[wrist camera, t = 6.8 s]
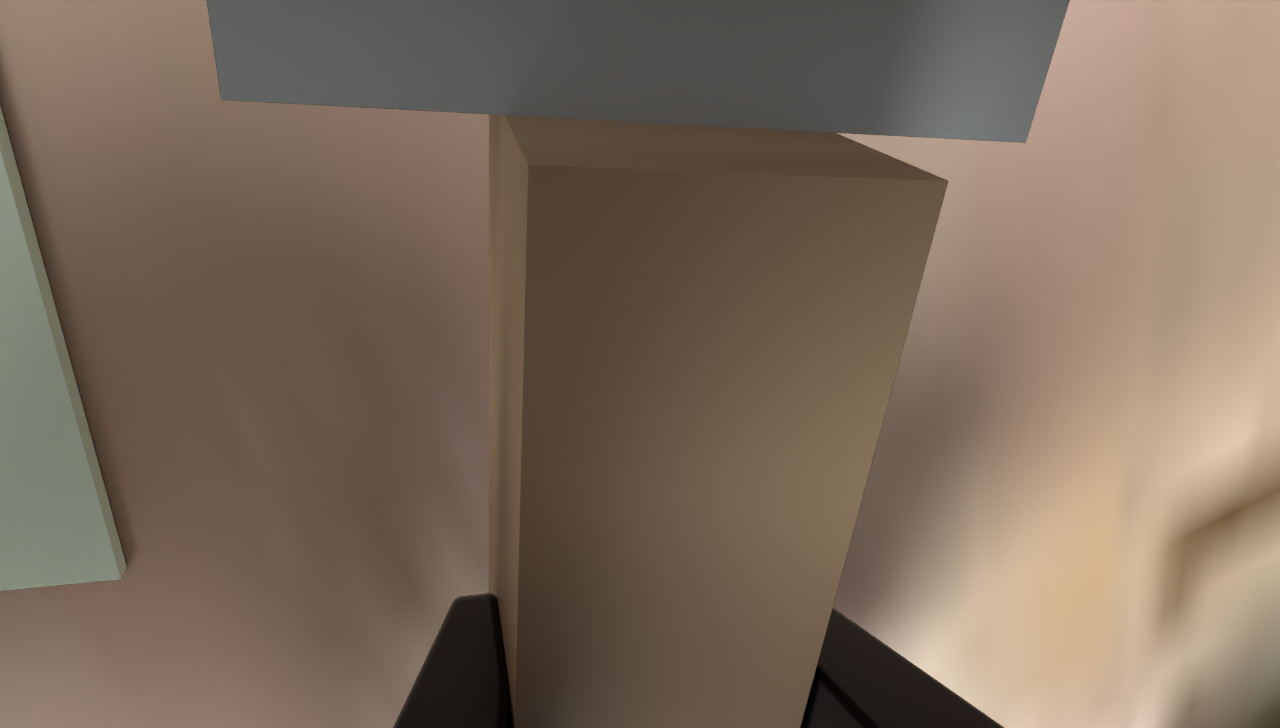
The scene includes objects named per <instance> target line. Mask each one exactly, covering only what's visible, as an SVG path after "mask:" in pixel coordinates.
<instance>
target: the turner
mask: <svg viewBox="0 0 1280 728" xmlns="http://www.w3.org/2000/svg"><path fill="white" fill-rule="evenodd" d="M1069 1H1070V0H207V6H208V13H209V20H210V27H211V33H212V40H213V47H214V54H215V60H216V67H217V74H218V80H219V87H220V94H221V100H232V101H251V102H270V103H289V104H307V105H326V106H345V107H364V108H383V109H401V110H420V111H439V112H458V113H476V114H489V593H492V594H494V595H495V597H496V598H497V603H498V610H499V617H500V625H501V632H502V639H503V647H504V654H505V661H506V669H507V678H508V700H509V728H800V726H801V722H802V718H803V715H804V711H805V707H806V704H807V700H808V696H809V693H810V689H811V685H812V682H813V678H814V674H815V671H816V667H817V663H818V659H819V656H820V652H821V648H822V645H823V641H824V637H825V634H826V630H827V626H828V623H829V619H830V615H831V612H832V608H833V604H834V600H835V597H836V593H837V589H838V586H839V582H840V578H841V575H842V571H843V567H844V564H845V560H846V556H847V553H848V549H849V545H850V541H851V538H852V534H853V530H854V527H855V523H856V519H857V516H858V512H859V508H860V505H861V501H862V497H863V494H864V490H865V486H866V482H867V479H868V475H869V471H870V468H871V464H872V460H873V457H874V453H875V449H876V446H877V442H878V438H879V434H880V431H881V427H882V423H883V420H884V416H885V412H886V409H887V405H888V401H889V398H890V394H891V390H892V387H893V383H894V379H895V375H896V372H897V368H898V364H899V361H900V357H901V353H902V350H903V346H904V342H905V339H906V335H907V331H908V328H909V324H910V320H911V316H912V313H913V309H914V305H915V302H916V298H917V294H918V291H919V287H920V283H921V280H922V276H923V272H924V269H925V265H926V261H927V257H928V254H929V250H930V246H931V243H932V239H933V235H934V232H935V228H936V224H937V221H938V217H939V213H940V210H941V206H942V202H943V198H944V195H945V191H946V187H947V184H948V181H947V180H945V179H943V178H940V177H938V176H935V175H933V174H931V173H928V172H926V171H924V170H921V169H919V168H917V167H914V166H912V165H909V164H907V163H905V162H902V161H900V160H898V159H895V158H893V157H891V156H888V155H886V154H883V153H881V152H879V151H876V150H874V149H872V148H869V147H867V146H865V145H862V144H860V143H857V142H855V141H853V140H850V139H848V138H846V137H843V136H841V135H839V134H836V133H851V134H870V135H889V136H908V137H926V138H945V139H964V140H983V141H1001V142H1020V143H1026V139H1027V136H1028V133H1029V130H1030V127H1031V123H1032V120H1033V117H1034V114H1035V110H1036V107H1037V104H1038V101H1039V97H1040V94H1041V91H1042V88H1043V85H1044V81H1045V78H1046V75H1047V72H1048V68H1049V65H1050V62H1051V59H1052V55H1053V52H1054V49H1055V46H1056V43H1057V39H1058V36H1059V33H1060V30H1061V26H1062V23H1063V20H1064V17H1065V13H1066V10H1067V7H1068V4H1069Z"/></svg>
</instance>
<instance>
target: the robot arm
mask: <svg viewBox="0 0 1280 728" xmlns="http://www.w3.org/2000/svg"><path fill="white" fill-rule="evenodd" d="M393 728H509V700H508V678H507V669H506V661H505V654H504V647H503V639H502V632H501V625H500V617H499V610H498V603H497V598H496V597H495V595H494V594H492V593H486V594H477V595H469V596H461V597H458V598H456V599H455V600H454V602H453V603H452V605H451V607H450V609H449V611H448V613H447V615H446V617H445V619H444V621H443V624H442V626H441V628H440V630H439V632H438V634H437V636H436V638H435V640H434V643H433V645H432V647H431V649H430V651H429V653H428V655H427V657H426V659H425V662H424V664H423V666H422V668H421V670H420V672H419V674H418V676H417V678H416V681H415V683H414V685H413V687H412V689H411V691H410V693H409V695H408V697H407V700H406V702H405V704H404V706H403V708H402V710H401V712H400V714H399V716H398V719H397V721H396V723H395V725H394V727H393ZM800 728H1004V727H1003V726H1001V725H1000V724H998V723H997V722H996V721H994V720H993V719H991V718H990V717H988V716H987V715H986V714H984V713H983V712H981V711H980V710H978V709H977V708H975V707H974V706H973V705H971V704H970V703H968V702H967V701H965V700H964V699H963V698H961V697H960V696H958V695H957V694H955V693H954V692H953V691H951V690H950V689H948V688H947V687H945V686H944V685H943V684H941V683H940V682H938V681H937V680H935V679H934V678H933V677H931V676H930V675H928V674H927V673H925V672H924V671H923V670H921V669H920V668H918V667H917V666H915V665H914V664H913V663H911V662H910V661H908V660H907V659H905V658H904V657H903V656H901V655H900V654H898V653H897V652H895V651H894V650H893V649H891V648H890V647H888V646H887V645H885V644H884V643H883V642H881V641H880V640H878V639H877V638H875V637H874V636H873V635H871V634H870V633H868V632H867V631H865V630H864V629H863V628H861V627H860V626H858V625H857V624H855V623H854V622H853V621H851V620H850V619H848V618H847V617H845V616H844V615H843V614H841V613H840V612H838V611H837V610H835V609H834V608H832V612H831V615H830V619H829V623H828V626H827V630H826V634H825V637H824V641H823V645H822V648H821V652H820V656H819V659H818V663H817V667H816V671H815V674H814V678H813V682H812V685H811V689H810V693H809V696H808V700H807V704H806V707H805V711H804V715H803V718H802V722H801V726H800Z"/></svg>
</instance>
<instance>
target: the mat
mask: <svg viewBox="0 0 1280 728" xmlns="http://www.w3.org/2000/svg"><path fill="white" fill-rule="evenodd" d="M126 569H127V566H126V562H125V559H124V555H123V551H122V548H121V544H120V540H119V537H118V533H117V529H116V526H115V522H114V519H113V515H112V511H111V508H110V504H109V500H108V497H107V493H106V489H105V486H104V482H103V478H102V475H101V471H100V467H99V464H98V460H97V456H96V453H95V449H94V446H93V442H92V438H91V435H90V431H89V427H88V424H87V420H86V416H85V413H84V409H83V405H82V402H81V398H80V394H79V391H78V387H77V383H76V380H75V376H74V373H73V369H72V365H71V362H70V358H69V354H68V351H67V347H66V343H65V340H64V336H63V332H62V329H61V325H60V321H59V318H58V314H57V310H56V307H55V303H54V300H53V296H52V292H51V289H50V285H49V281H48V278H47V274H46V270H45V267H44V263H43V259H42V256H41V252H40V248H39V245H38V241H37V237H36V234H35V230H34V227H33V223H32V219H31V216H30V212H29V208H28V205H27V201H26V197H25V194H24V190H23V186H22V183H21V179H20V175H19V172H18V168H17V164H16V161H15V157H14V154H13V150H12V146H11V143H10V139H9V135H8V132H7V128H6V124H5V121H4V117H3V113H2V110H1V106H0V591H6V590H16V589H27V588H37V587H47V586H58V585H68V584H78V583H88V582H99V581H109V580H119V579H121V578H122V576H123V574H124V572H125V570H126Z"/></svg>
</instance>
